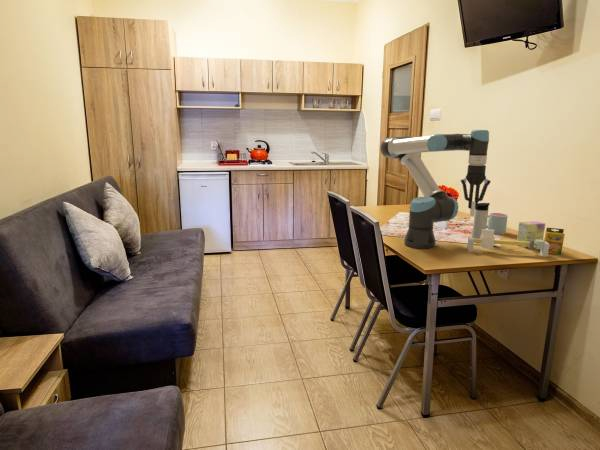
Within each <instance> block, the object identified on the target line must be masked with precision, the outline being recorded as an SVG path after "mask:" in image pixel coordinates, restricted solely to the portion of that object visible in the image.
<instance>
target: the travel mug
mask: <svg viewBox="0 0 600 450" xmlns="http://www.w3.org/2000/svg"><path fill="white" fill-rule="evenodd" d="M490 205H491V203H490V202H478V206H477V209H475V212H474V216H473V224H472V233H471V234H472V235H471V237H473V238H475V239H480V237H481V235H482V229H487V228H486V226H488V224H487V223H488V215H489V206H490Z"/></svg>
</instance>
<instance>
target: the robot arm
mask: <svg viewBox="0 0 600 450" xmlns="http://www.w3.org/2000/svg"><path fill="white" fill-rule="evenodd" d="M489 142H490V131H489V130H487V129H472V130H471V132H470V133H469V134H468V133H449V134H448V133H447V134H445V133H444V134H443V133H436V134H435V133H434V134H432V135H425V136H417V137H415V136H414V137H413V136H409V135H407V136H390V137H387V138H384V139H383V140H382V141H381V143H380V146H379V147H380V150H379V151H380V152H381V154H382V156H383V157H384V158H387V159H393V160H394V159H398V161H399V162H400V164H401V165H403V166H405V167H406V169H407V171H408V172H409V174H410V176H411V177H412V179H413V180H414V182H415V184H416V185H417V187H418V189H419V191H420V192H421V194H422V195H423V196H418V197H417V196H416V197H415V198H414V197H413V199H411V200H410V205H409V215H408V229H407V231H406V234H405V235H404V239H403V244H404V245H405V246H406V247H410V248H414V249H431V248H434V247H436V237H435V234H434V224H435V223H440V222H448V221H451V220H453V219H454V218H455V217H456V216H457V215H458V213H459V203H458V201H457V200H456V198H454V197H452V196H448V194H447V192H446V191H445V190H441V189H440V187H439V185H438V184H437V183H436V181H435V179H434V178H433V176H432V174H431V173H430V171H429V169H428V168H427V166H426V164H425V163H424V162H423V160H422V158H421V157H420V156H421V154H422V153H432V152H433V153H435V152H436V153H437V152H451V151H454V152H455V151H465V152H466V151H467V152H468V166H467V171H466V174H465V175H466V176H465V177H464V178H461V179H460V183H461V184H462V185H461V186H462V190H463V197H464V200H465V201H468V205H467V208H468V209H469V216H470V217H474V213H475V209H477V206H478V203H480V202H482V201H484V197H485V194H486V192H487V189H488V186H489V185H490V183H491V180H489V179H488V178H487V176H486V168H487V165H486V164H487V160H488V149H489ZM467 182H468V184H469V194H468V189H467ZM482 184H483V185H482ZM481 185H482V189H481V192H480V188H481ZM474 188H475V192H474ZM473 197H474V200H473Z"/></svg>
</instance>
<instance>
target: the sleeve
mask: <svg viewBox="0 0 600 450" xmlns="http://www.w3.org/2000/svg"><path fill="white" fill-rule="evenodd" d="M494 235H495V234H494V230H488V228H486V229H482V235H481V237H480V239H482V243H479V245H480V247H481V248H489V249H494V245H495V244H494V240H495V237H494Z"/></svg>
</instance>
